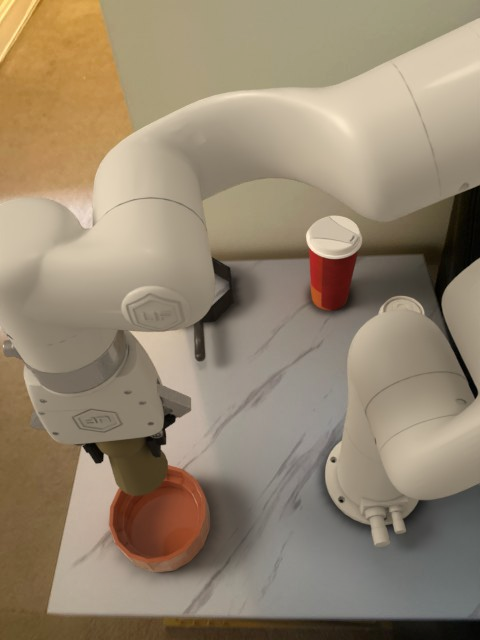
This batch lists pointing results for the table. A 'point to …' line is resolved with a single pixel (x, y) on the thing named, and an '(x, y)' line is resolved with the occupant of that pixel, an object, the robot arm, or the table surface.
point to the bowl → (161, 523)
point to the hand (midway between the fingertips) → (128, 446)
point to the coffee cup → (332, 260)
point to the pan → (213, 309)
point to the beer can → (402, 304)
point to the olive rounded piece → (135, 465)
